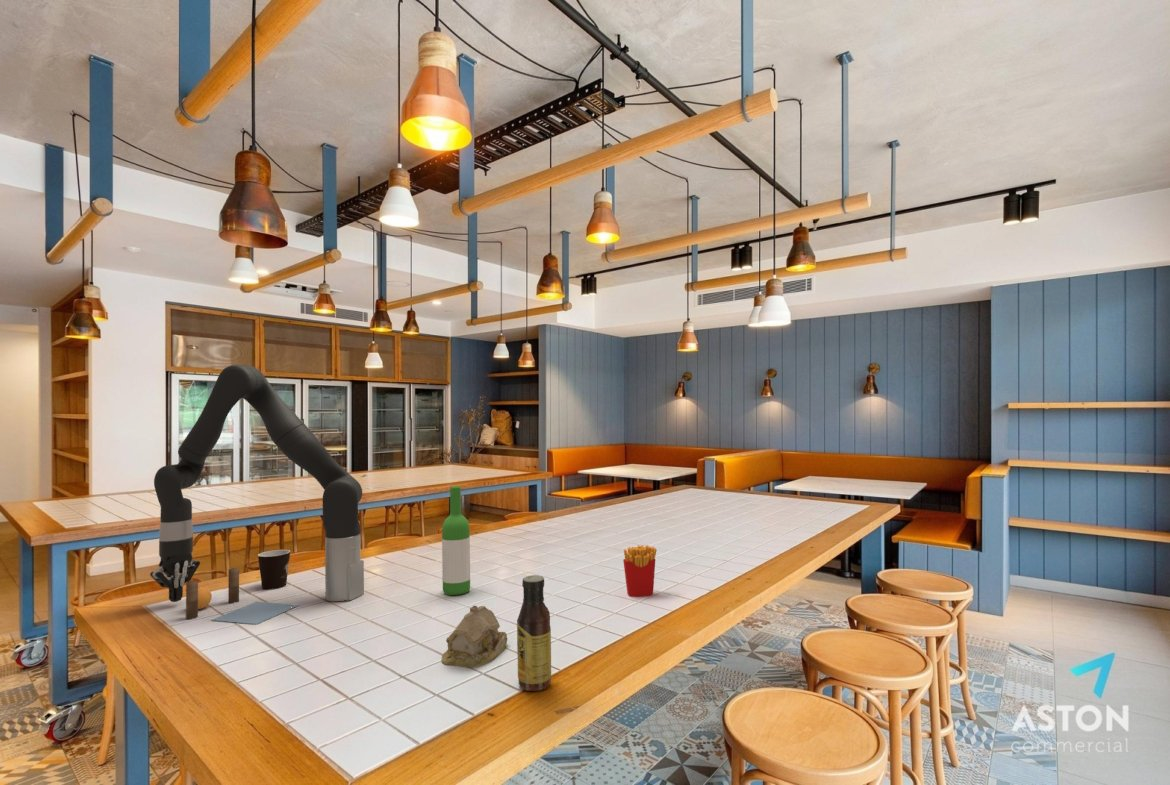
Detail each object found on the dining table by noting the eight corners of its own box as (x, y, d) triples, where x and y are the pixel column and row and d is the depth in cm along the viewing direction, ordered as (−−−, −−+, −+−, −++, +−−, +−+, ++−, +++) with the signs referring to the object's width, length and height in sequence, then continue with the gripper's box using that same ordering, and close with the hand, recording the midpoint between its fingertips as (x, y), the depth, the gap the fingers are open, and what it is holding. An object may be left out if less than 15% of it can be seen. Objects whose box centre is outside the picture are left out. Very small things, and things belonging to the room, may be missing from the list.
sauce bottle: (518, 678, 107) (516, 573, 108) (551, 676, 107) (549, 571, 108) (517, 695, 100) (515, 583, 101) (552, 693, 101) (550, 581, 102)
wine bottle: (446, 598, 155) (445, 489, 157) (439, 590, 162) (438, 486, 164) (473, 593, 159) (472, 487, 160) (466, 586, 166) (464, 484, 167)
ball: (209, 580, 154) (199, 594, 155) (189, 586, 149) (178, 600, 150) (219, 596, 152) (209, 609, 153) (199, 602, 147) (189, 616, 148)
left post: (200, 616, 145) (200, 581, 145) (191, 619, 143) (191, 583, 143) (192, 615, 146) (192, 580, 146) (183, 619, 143) (183, 583, 144)
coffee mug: (276, 591, 165) (276, 557, 165) (250, 590, 167) (251, 556, 167) (303, 579, 176) (303, 547, 177) (279, 578, 178) (279, 547, 178)
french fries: (626, 597, 152) (625, 549, 153) (623, 593, 157) (621, 546, 157) (659, 595, 154) (658, 547, 155) (654, 590, 158) (653, 543, 159)
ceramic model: (475, 673, 110) (474, 621, 110) (431, 662, 115) (431, 613, 116) (516, 646, 122) (515, 599, 123) (475, 637, 128) (474, 593, 128)
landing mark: (298, 605, 152) (298, 604, 152) (256, 624, 138) (256, 623, 138) (256, 602, 155) (256, 601, 155) (211, 620, 142) (211, 619, 142)
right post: (241, 600, 157) (241, 568, 157) (233, 603, 155) (233, 570, 155) (233, 599, 158) (234, 567, 158) (226, 602, 155) (226, 570, 156)
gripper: (163, 543, 147) (162, 610, 146) (208, 532, 160) (208, 594, 159) (141, 542, 149) (140, 608, 148) (188, 531, 162) (187, 592, 161)
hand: (175, 600), depth 154 cm, fingers closed
